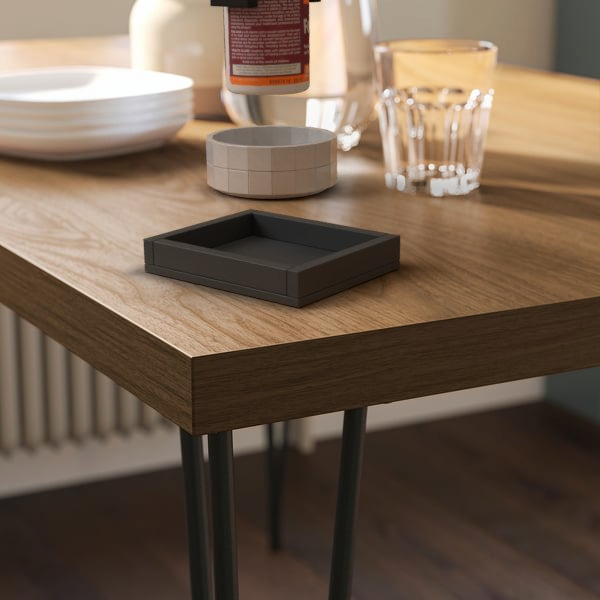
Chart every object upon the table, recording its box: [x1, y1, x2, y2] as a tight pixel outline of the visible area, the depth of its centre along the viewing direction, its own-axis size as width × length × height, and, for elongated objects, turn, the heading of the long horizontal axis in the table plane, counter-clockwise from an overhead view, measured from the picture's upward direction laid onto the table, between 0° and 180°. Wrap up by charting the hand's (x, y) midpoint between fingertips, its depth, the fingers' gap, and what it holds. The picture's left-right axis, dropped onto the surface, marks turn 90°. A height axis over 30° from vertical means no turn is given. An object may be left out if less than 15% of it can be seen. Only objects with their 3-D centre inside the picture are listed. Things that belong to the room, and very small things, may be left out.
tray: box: [142, 208, 401, 308], centre depth 69 cm, size 12×10×2 cm
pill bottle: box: [222, 0, 311, 96], centre depth 65 cm, size 5×5×8 cm
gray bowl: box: [205, 124, 338, 200], centre depth 91 cm, size 10×10×4 cm
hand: (267, 3), depth 65 cm, fingers closed on pill bottle, 5 cm apart
